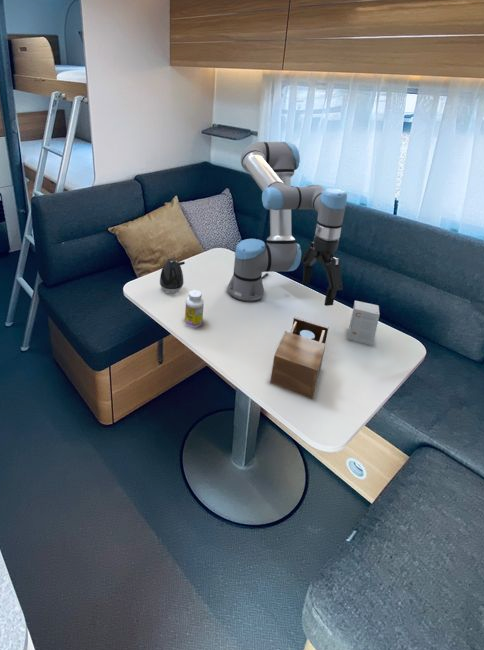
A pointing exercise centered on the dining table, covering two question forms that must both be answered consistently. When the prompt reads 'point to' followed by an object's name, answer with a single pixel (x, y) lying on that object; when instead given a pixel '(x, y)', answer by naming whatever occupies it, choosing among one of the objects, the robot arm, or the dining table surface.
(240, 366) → the dining table surface
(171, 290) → the pump dispenser
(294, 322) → the drawer
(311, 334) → the light blue cylinder
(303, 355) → the wooden block
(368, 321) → the small box
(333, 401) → the dining table surface
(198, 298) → the supplement bottle
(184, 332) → the dining table surface
